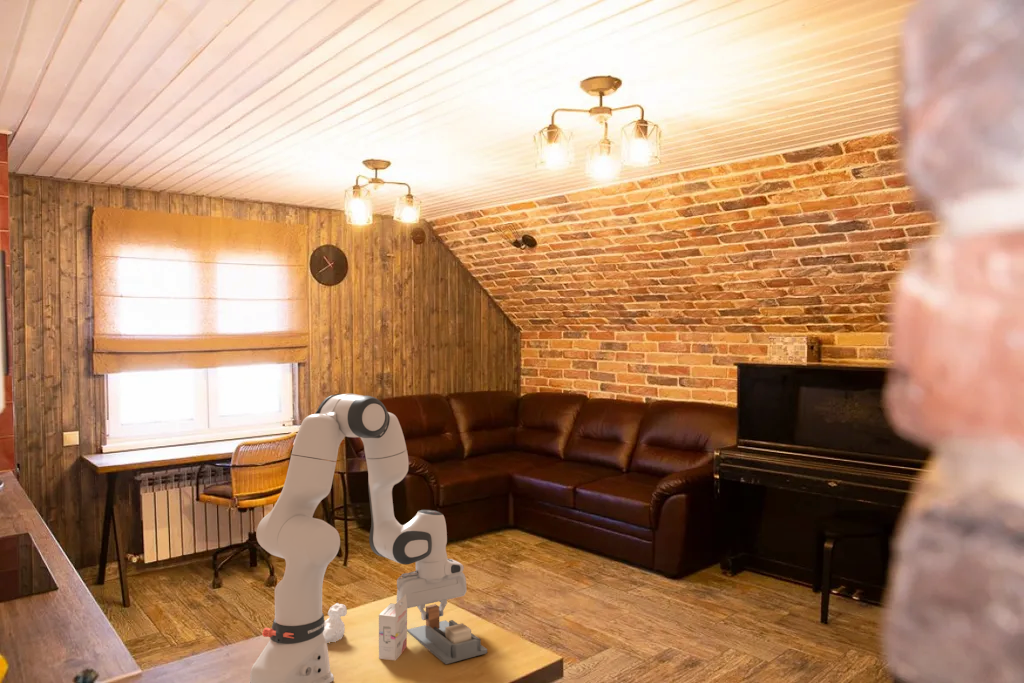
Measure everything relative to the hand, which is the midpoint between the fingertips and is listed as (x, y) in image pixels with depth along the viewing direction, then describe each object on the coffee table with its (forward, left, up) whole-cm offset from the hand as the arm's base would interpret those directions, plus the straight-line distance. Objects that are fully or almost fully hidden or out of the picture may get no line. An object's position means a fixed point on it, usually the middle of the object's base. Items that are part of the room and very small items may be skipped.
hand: (432, 617), depth 207 cm
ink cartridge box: (-16, +4, -4) cm, 17 cm away
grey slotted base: (-5, -6, -4) cm, 9 cm away
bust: (-14, +24, -5) cm, 28 cm away
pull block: (-5, -7, -3) cm, 9 cm away
